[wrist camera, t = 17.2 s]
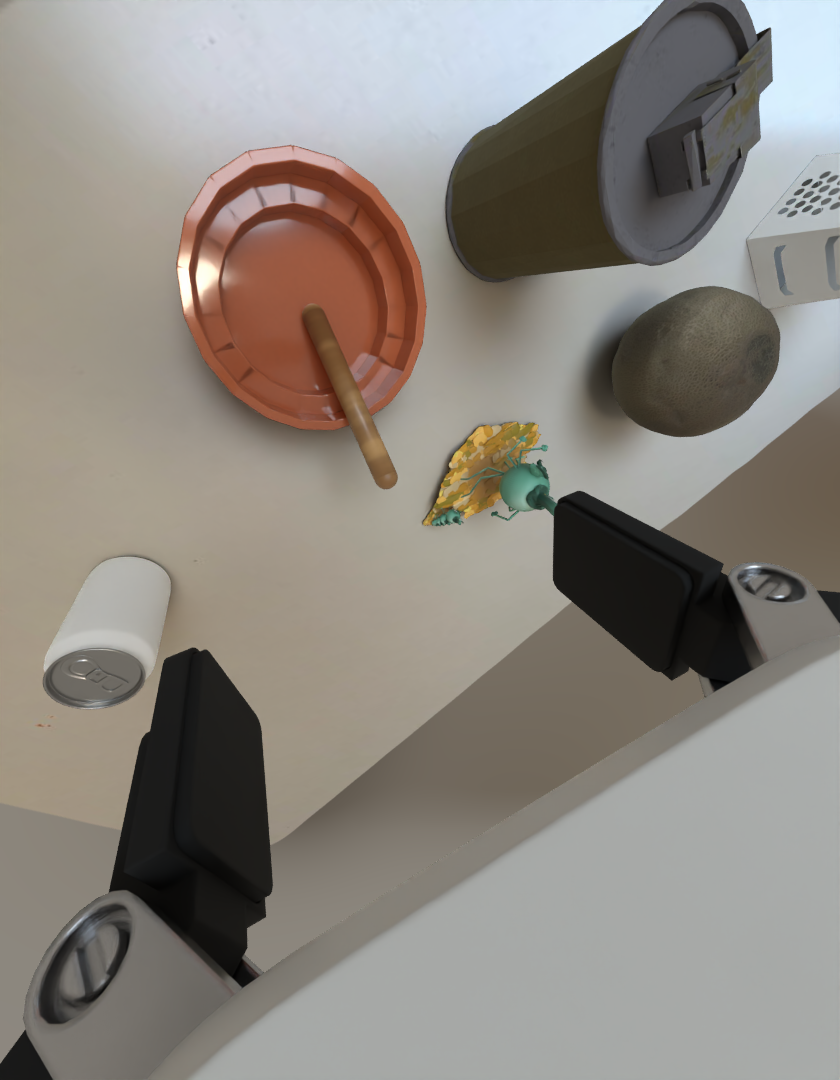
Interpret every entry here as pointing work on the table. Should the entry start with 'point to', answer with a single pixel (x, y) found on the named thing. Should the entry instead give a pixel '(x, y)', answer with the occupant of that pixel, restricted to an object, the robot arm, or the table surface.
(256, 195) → the bowl
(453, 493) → the insect on leaf figurine
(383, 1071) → the robot arm
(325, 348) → the stick
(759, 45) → the canister
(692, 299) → the cantaloupe
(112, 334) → the table surface
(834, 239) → the grater
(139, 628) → the can
